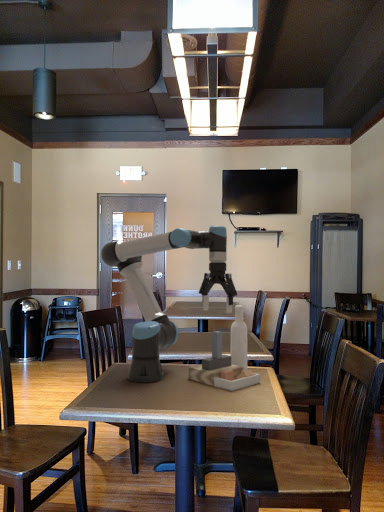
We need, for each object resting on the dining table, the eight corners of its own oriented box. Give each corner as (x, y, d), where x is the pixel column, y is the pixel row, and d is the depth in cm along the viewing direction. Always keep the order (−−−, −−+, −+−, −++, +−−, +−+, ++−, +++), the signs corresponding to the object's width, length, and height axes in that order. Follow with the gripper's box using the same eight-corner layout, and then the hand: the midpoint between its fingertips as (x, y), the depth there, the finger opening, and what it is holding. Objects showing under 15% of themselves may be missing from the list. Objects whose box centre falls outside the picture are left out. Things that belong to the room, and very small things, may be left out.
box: (214, 386, 167) (214, 377, 167) (243, 378, 179) (243, 370, 179) (231, 391, 160) (231, 382, 160) (259, 382, 173) (260, 374, 173)
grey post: (201, 368, 175) (202, 332, 175) (224, 363, 184) (224, 329, 185) (208, 370, 172) (209, 333, 172) (231, 365, 181) (231, 330, 182)
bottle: (248, 369, 195) (248, 305, 196) (246, 373, 188) (247, 306, 189) (231, 368, 197) (231, 304, 198) (228, 372, 190) (229, 306, 191)
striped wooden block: (188, 378, 178) (188, 367, 178) (217, 372, 190) (217, 361, 190) (214, 386, 167) (214, 373, 167) (243, 378, 179) (243, 366, 179)
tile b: (243, 371, 169) (246, 376, 168) (251, 369, 172) (254, 374, 171) (236, 377, 172) (239, 382, 170) (243, 375, 175) (246, 380, 174)
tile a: (220, 371, 168) (225, 372, 166) (228, 369, 172) (233, 370, 170) (220, 384, 168) (225, 385, 166) (228, 381, 172) (233, 383, 170)
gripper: (191, 262, 186) (190, 309, 185) (234, 261, 168) (233, 314, 167) (203, 262, 191) (202, 308, 191) (245, 262, 173) (245, 313, 172)
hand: (217, 311), depth 179 cm, fingers open, 13 cm apart
